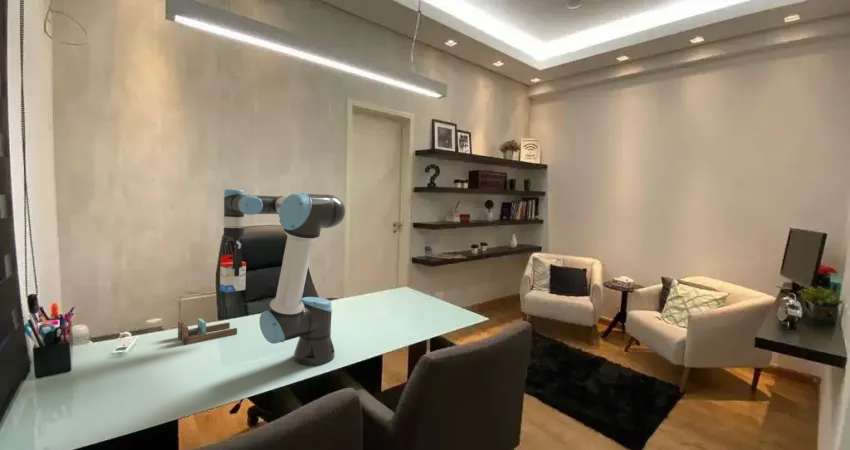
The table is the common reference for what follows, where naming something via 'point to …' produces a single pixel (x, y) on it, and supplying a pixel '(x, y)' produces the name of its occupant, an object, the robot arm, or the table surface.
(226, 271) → the ink box
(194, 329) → the pusher
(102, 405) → the table surface
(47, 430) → the table surface
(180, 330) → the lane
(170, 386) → the table surface
